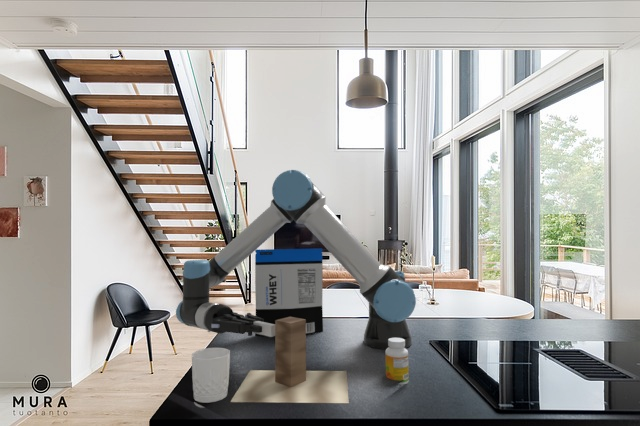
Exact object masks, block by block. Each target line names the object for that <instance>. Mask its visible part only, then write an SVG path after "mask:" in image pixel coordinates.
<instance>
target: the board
mask: <svg viewBox="0 0 640 426" xmlns="http://www.w3.org/2000/svg"><path fill="white" fill-rule="evenodd" d="M347 374H348V373H347V370H306V381H304V382H302V383H300V384H298V385H296V386H293V387H288V386H285V385H282V384H279V383H276V382H275V369H274V370H272V369H271V370H265V369H264V370H261V369H260V370H257V369H254V370H253V369H250V370H249V371H248V373H247V375H246V376H245V378H244V380H243V381H242V382H241V384H240V386H239V388H238V389H237V390H236V392H235V394H234V395H233V397H232V398H231V400H230V403H269V404H270V403H277V404H278V403H280V404H282V403H284V404H287V403H289V404H291V403H293V404H350V402H349V401H350V400H349V387H348V375H347Z"/></svg>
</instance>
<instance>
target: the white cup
mask: <svg viewBox="0 0 640 426" xmlns="http://www.w3.org/2000/svg"><path fill="white" fill-rule="evenodd" d="M230 363H231V350H230V349H228V348H225V347H206V348H202V349H199V350H196V351H194V352H192V354H191V371H192V373H191V375H192V376H191V378H192V391H193V399H194V402H193V404H194V405H195V406H196V407H197V408H200V409H203V408H204V409H206V407H205V406H203V405H201V404H198V403H207V404H208V403H215V402H218V401H221V400H224V399H225V398H226V397H227V396H228V392H229V390H228V389H229V384H230V383H229V382H230V381H229V380H230V366H231V364H230ZM195 401H196V402H195ZM197 402H198V403H197Z"/></svg>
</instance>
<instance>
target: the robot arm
mask: <svg viewBox="0 0 640 426" xmlns="http://www.w3.org/2000/svg"><path fill="white" fill-rule="evenodd" d="M271 193H272V194H271V195H272V197H273V199H272V200H271V201H270V205H269V207H267V208H266V209H265V211H263V212H262V213H261V214H259V216H258V217H256V219H254V220H253V221H252V222H251V223H249V225H248V226H246V228H244V229H243V230H242V231H241V232H240V233H238V234H237V236H236V237H235V238H233V239H232V240H231V241H229V243H228V244H226V246H224V248H222V249H221V250H220V251H219V252H218V253H217V254H215V255H214V257H212V258H210V260H209V261H208V260H207V259H193V260H191V259H190V260H186V261H185V262H184V263H183V268H182V269H183V270H182V301H181V300H180V302H179V303H178V305H177V306H176V307H177V308H176V309H175V316H176V319H177V320H178V321H179V322H180V323H181V324H184V325H185V326H187V327H191V328H192V327H194V328H198V329H200V330H205V331H207V332H208V333H211V332H212V333H216V334H225V333H231V334H232V333H233V334H241V335H243V334H246V333H247V336H249V337H251V336H253V334H255V333H256V334H260V335H265V336H269V337H268V338H271V337H273V336H275V324H271V323H266V322H264V319H263V318H260V317H257V316H256V315H255V314H252V313H251V312H247V313H246V314H244V315H243V314H241V313H238V312H234V311H233V309H232V308H231V307H230V306H229V305H225V304H220V303H215V302H210V288H213V287H216V286H218V285H220V284H222V283H223V281H225V279H226V277H227V276H228V275H230V273H232V272H233V271H234V270H235V269H236V268H237V267H238V266H239V265H240V264H241V263H243V262H244V261H245V260H246V259H248V257H250V255H252V254H253V253H254V252H255V250H258V248H259V247H260V246H261V245H263V244H264V243H265V242H266V241H268V239H269V238H270V237H272V236H273V235H274V234H275V233H276V232H277V231H278V230H279V229H280V228H282V227H283V226H284V225H285V224H287V223H290V224H291V223H292V222H293V221H294V222H295V224H297V225H300V224H302V225H304V226H305V227H306V228H307V229H308V230H309V231H310V232H311V233H312V234H313V236H314V237H315V238H316V239H317V240H318V241H319V242H320V243H321V244H322V245H323V247H324V248H326V250H328V252H329V253H330V254H331V255H332V256H333V258H335V259H336V261H337V262H338V263H339V264H340V265H341V266H342V267H343V268H344V269H345V270H346V272H347V273H349V275H350V276H351V277H352V278H353V279H354V280H355V281H356V283H358V284H359V293H360V295H362V296H363V298H364V299H365V300H366V301H367V303H368V320H367V324H366V326H365V327H366V328H365V330H364V334H363V343H364V345H366V346H368V347H370V348H373V349H379V350H380V349H381V350H386V349H387V348H388V347H389V346H388V339H389V338H402V339H404V340H405V347H404V348H405V349H408V348H409V347H411V346H412V344H413V343H412V335H411V332H410V329H409V325H408V323H407V319H408V318H409V317H410V316H411V315H412V314H413V312H414V311H415V308H416V303H417V300H416V299H417V298H416V295H415V291H414V289H413V288H412V286H411V285H410V284H408V283H407V282H406V276H405V273H404V271H402V270H394V269H393V268H392V267H391V266H390V265H389V264H381V262H379V260H378V259H377V258H376V257H375V256H374V255H373V254H372V253H371V252H370V251H369V249H367V248H366V246H364V244H363V243H362V242H361V241H360V240H359V239H358V238H357V236H355V234H353V232H352V231H351V230H350V229H349V228H348V227H347V226H346V224H344V223H343V221H341V219H340V218H339V217H338V216H337V215H336V214H335V213H334V212H333V211H332V210H331V209H330V207H328V205H327V202H326V196H325V195H324V193H322V191H321V190H320V189H319V188H318V187H317V186H316V185H315V184H314V183H313V182H312V180H311V178H310V176H308V175H307V173H305V172H303V171H300V170H297V169H289V170H285V171H283V172H281V173H280V174H278V175H277V177H275V180H274V181H273V184H272V187H271Z"/></svg>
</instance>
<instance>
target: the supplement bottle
mask: <svg viewBox="0 0 640 426" xmlns="http://www.w3.org/2000/svg"><path fill="white" fill-rule="evenodd" d="M388 346H389V347H388V348H387V349H385V350H384V351H385V352H384V353H385V354H384V355H385V377H386V378H388V379H389V380H391V381H400V382H399V383H397V384H396V386H403V385H407V384H408V383H409V382H410V377H409V376H410V373H409V371H410V370H409V369H410V368H409V367H410V366H409V351H408V348H404V347H405V340H404V339H402V338H389V339H388Z"/></svg>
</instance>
